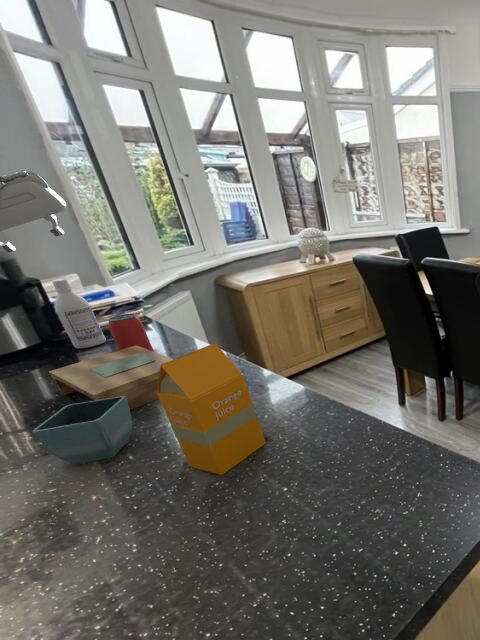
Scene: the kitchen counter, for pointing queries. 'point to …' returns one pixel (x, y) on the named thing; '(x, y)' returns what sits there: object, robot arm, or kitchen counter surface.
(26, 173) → the robot arm
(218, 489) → the kitchen counter surface
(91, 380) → the wooden slab
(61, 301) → the bath foam
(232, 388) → the orange juice
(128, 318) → the beer can
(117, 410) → the flower pot
